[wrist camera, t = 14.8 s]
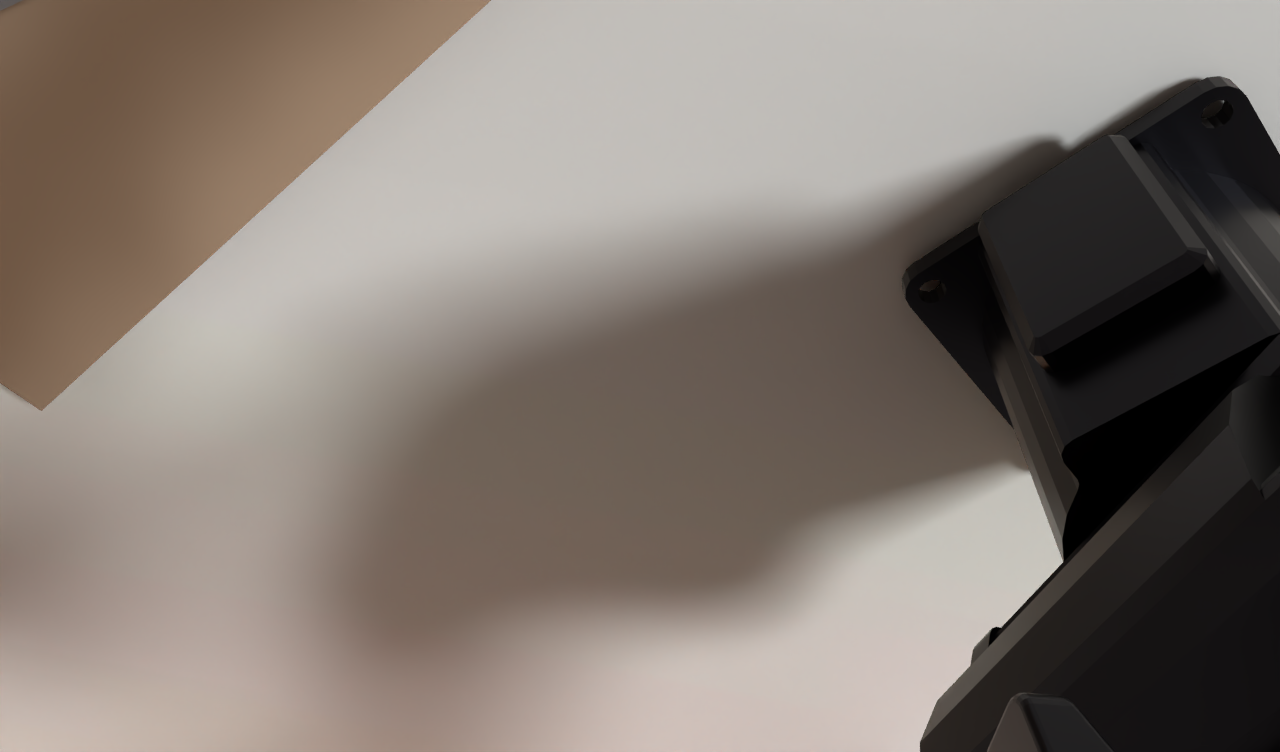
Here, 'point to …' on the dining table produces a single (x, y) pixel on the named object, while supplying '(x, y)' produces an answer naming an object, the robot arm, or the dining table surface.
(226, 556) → the dining table surface
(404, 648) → the dining table surface
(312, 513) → the dining table surface
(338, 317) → the dining table surface
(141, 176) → the duct base
